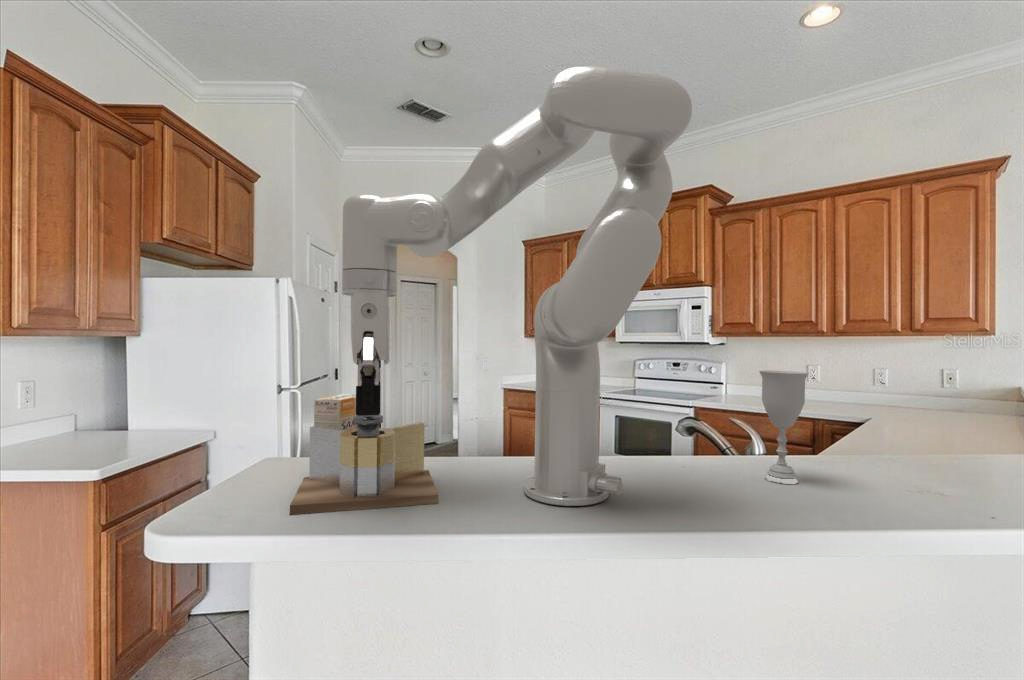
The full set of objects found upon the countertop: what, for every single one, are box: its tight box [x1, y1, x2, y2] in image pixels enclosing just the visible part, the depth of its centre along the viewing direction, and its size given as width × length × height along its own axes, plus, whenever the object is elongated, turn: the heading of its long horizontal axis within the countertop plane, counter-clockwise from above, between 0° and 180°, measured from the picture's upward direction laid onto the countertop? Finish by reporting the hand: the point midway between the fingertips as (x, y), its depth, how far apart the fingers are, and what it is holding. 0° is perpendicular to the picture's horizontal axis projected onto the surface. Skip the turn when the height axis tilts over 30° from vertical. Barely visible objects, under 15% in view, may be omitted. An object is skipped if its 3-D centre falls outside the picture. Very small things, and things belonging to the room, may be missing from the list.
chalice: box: [758, 370, 810, 479], centre depth 82 cm, size 7×7×18 cm
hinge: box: [308, 422, 425, 498], centre depth 73 cm, size 11×17×8 cm, turn 105°
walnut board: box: [289, 469, 439, 516], centre depth 72 cm, size 13×19×1 cm
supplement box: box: [313, 393, 357, 430], centre depth 82 cm, size 8×5×13 cm, turn 168°
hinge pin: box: [354, 414, 384, 436], centre depth 70 cm, size 4×4×10 cm
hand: (368, 410), depth 71 cm, fingers open, 5 cm apart
